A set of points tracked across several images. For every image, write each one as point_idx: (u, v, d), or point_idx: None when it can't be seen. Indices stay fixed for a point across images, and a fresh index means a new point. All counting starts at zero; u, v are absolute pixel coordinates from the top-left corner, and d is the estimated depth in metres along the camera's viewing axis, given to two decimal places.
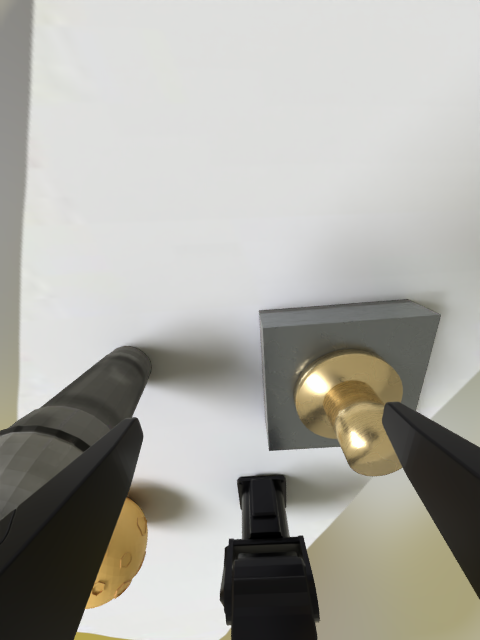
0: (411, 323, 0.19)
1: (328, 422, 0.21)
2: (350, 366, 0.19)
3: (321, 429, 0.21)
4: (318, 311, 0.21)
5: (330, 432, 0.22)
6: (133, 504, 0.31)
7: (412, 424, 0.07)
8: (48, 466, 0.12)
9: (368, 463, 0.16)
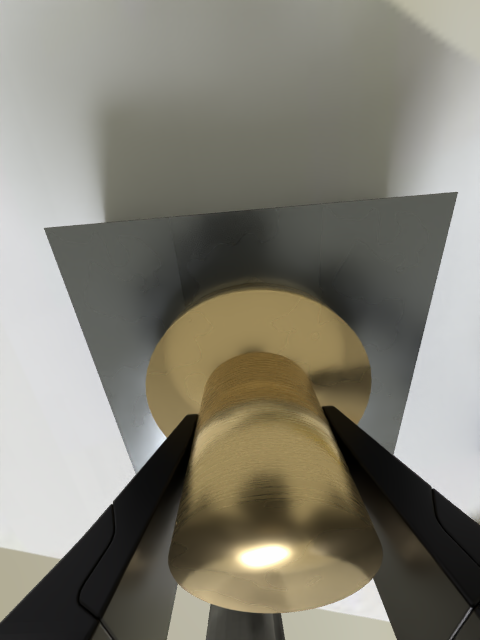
0: (80, 286, 0.09)
1: None
2: (171, 408, 0.10)
3: None
4: None
5: None
6: None
7: (336, 428, 0.07)
8: None
9: (313, 582, 0.05)
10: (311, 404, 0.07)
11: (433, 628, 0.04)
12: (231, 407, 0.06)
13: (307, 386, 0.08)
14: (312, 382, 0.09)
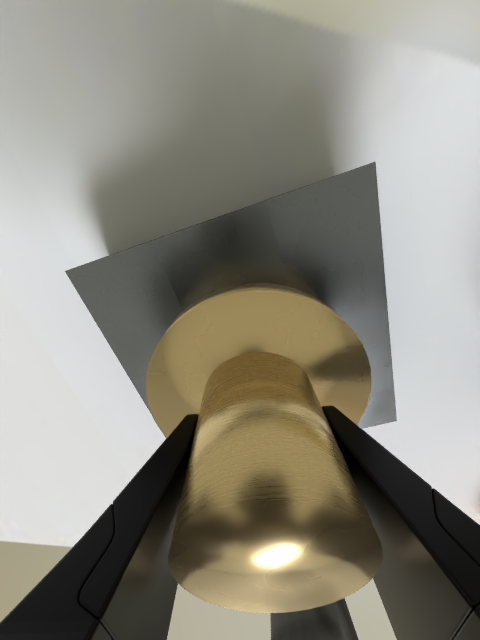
0: (99, 309, 0.12)
1: None
2: (171, 408, 0.10)
3: None
4: None
5: None
6: None
7: (335, 428, 0.07)
8: None
9: (313, 581, 0.05)
10: (311, 404, 0.07)
11: (433, 628, 0.04)
12: (232, 407, 0.06)
13: (307, 386, 0.08)
14: (312, 382, 0.09)
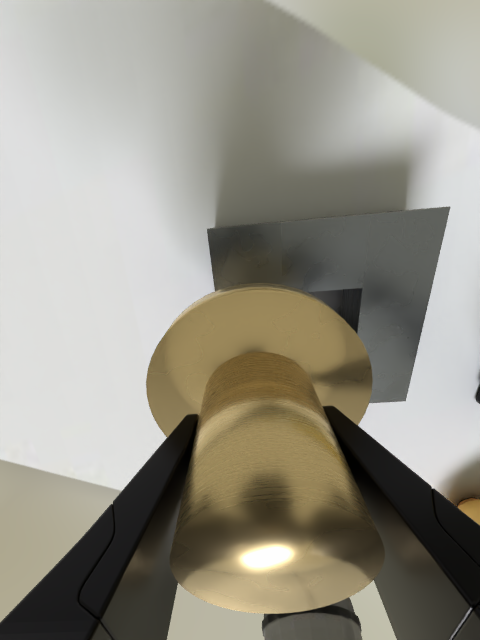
0: (220, 264, 0.15)
1: None
2: (172, 408, 0.10)
3: None
4: None
5: None
6: (467, 507, 0.27)
7: (336, 428, 0.07)
8: None
9: (315, 582, 0.05)
10: (312, 404, 0.07)
11: (433, 628, 0.04)
12: (233, 407, 0.06)
13: (308, 386, 0.08)
14: (313, 382, 0.09)
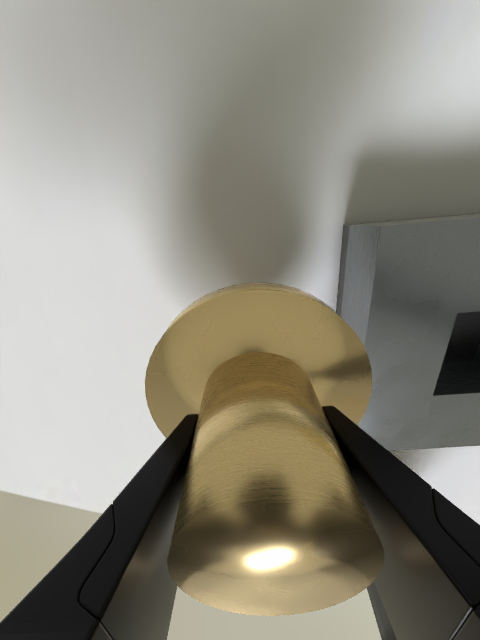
0: (386, 273, 0.11)
1: None
2: (171, 408, 0.10)
3: None
4: None
5: None
6: None
7: (336, 428, 0.07)
8: None
9: (314, 584, 0.05)
10: (311, 405, 0.07)
11: (433, 628, 0.04)
12: (231, 407, 0.06)
13: (307, 386, 0.08)
14: (312, 382, 0.09)
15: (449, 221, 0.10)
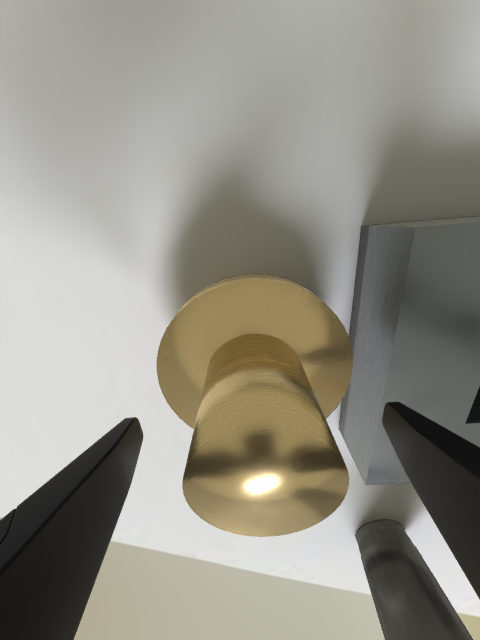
0: (418, 285, 0.09)
1: None
2: (178, 384, 0.11)
3: None
4: (355, 382, 0.14)
5: (328, 395, 0.11)
6: None
7: (412, 424, 0.07)
8: None
9: (296, 504, 0.07)
10: (297, 373, 0.08)
11: None
12: (232, 373, 0.08)
13: (296, 361, 0.09)
14: (301, 361, 0.11)
15: None
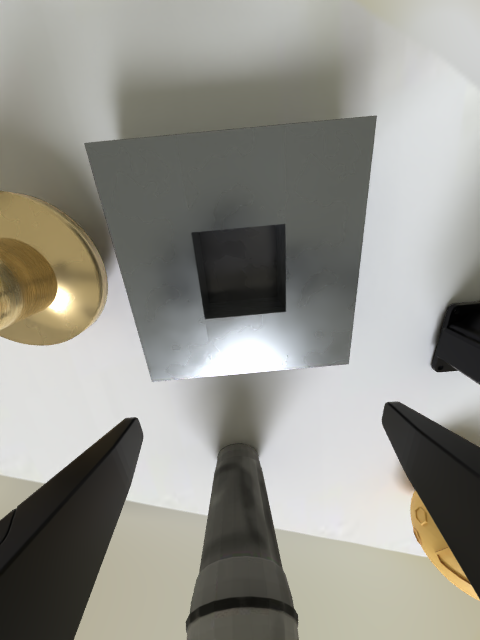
0: (109, 192, 0.12)
1: (66, 300, 0.14)
2: None
3: (83, 307, 0.14)
4: None
5: (85, 294, 0.14)
6: None
7: (412, 424, 0.07)
8: None
9: None
10: None
11: None
12: None
13: (16, 251, 0.12)
14: (50, 262, 0.13)
15: (145, 138, 0.11)
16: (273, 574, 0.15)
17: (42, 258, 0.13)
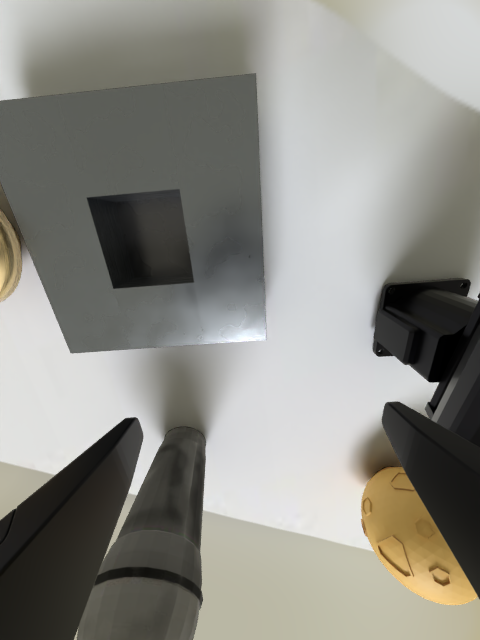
0: None
1: None
2: None
3: None
4: None
5: None
6: (379, 474, 0.25)
7: (412, 424, 0.07)
8: (82, 623, 0.13)
9: None
10: None
11: None
12: None
13: None
14: None
15: (27, 99, 0.11)
16: (179, 549, 0.15)
17: None
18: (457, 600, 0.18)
